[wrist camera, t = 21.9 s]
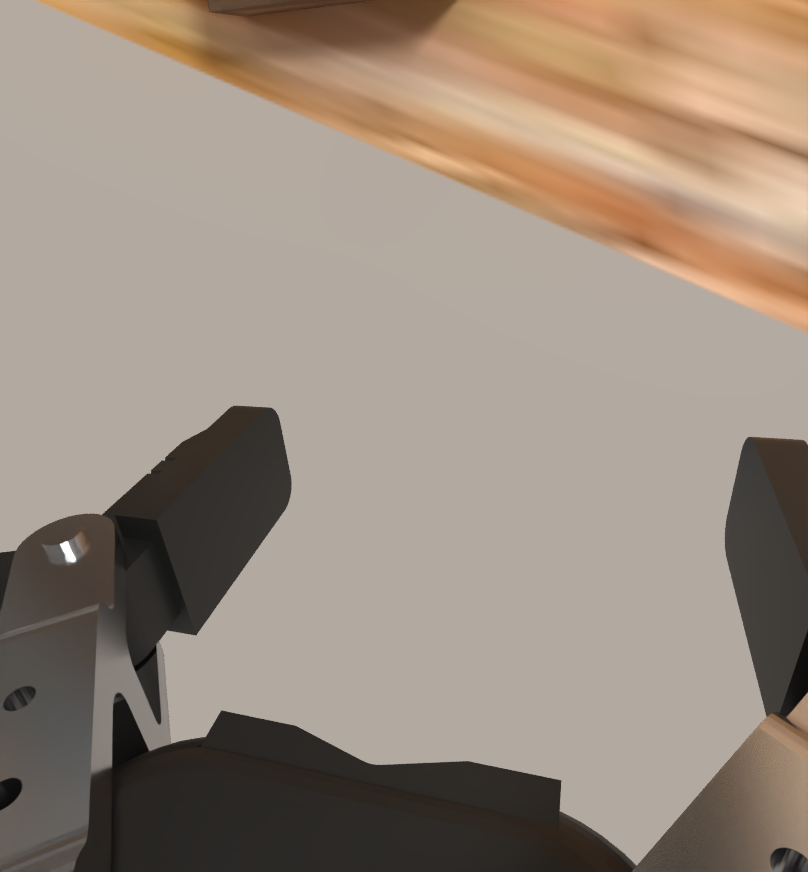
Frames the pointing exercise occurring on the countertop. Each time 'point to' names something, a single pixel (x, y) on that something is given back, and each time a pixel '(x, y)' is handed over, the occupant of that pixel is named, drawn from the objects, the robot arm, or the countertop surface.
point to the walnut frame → (268, 5)
